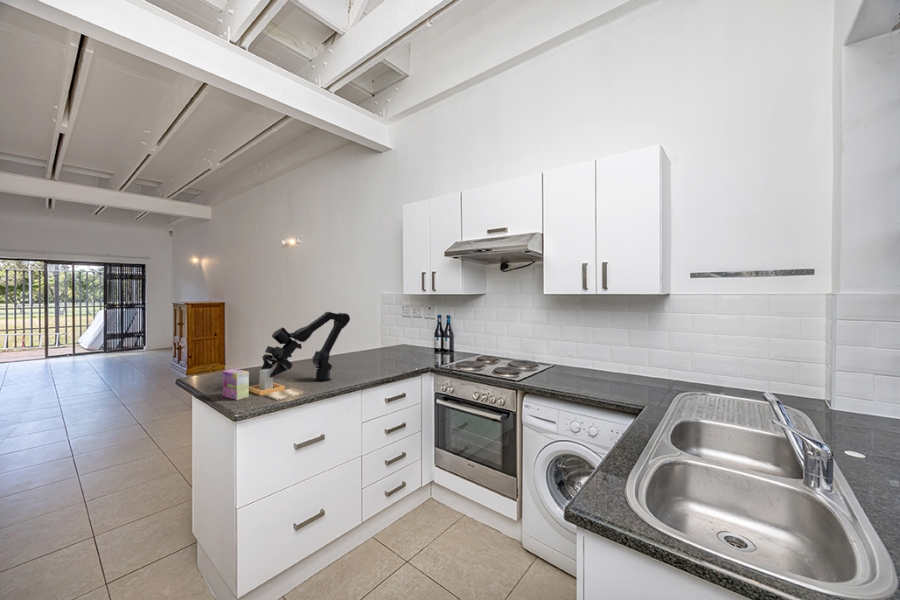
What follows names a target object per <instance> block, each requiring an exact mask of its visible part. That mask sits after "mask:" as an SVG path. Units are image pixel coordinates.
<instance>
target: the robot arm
mask: <svg viewBox="0 0 900 600" xmlns="http://www.w3.org/2000/svg"><path fill="white" fill-rule="evenodd" d="M331 320H333V327H332V329H331V330H330V333H329V334H328V336H327V338H326V339H325V342H324V344H323V346H322V347H321V349H320V350H319V351H318V350H316V351H315V352H314V355H313V356H312V357H311V358H312V363H313V365H314V366H315V368H316V372H315V379H314V381H317V382H321V383H323V381H324V382H327V381H331V380H332V378H331V373H330V372H331V370H332V367H333V365H332V364H331V363H330V362H329V360H330V352H331V351H332V349H333V347H334V345H335V343H336V341H337V339H338V338H339V335H340V334H341V331H342V330H343V329H344V328H346V326H347V325H348V324H349V322H350V320H351V317H350V314H348V313H347V312H346V313H345V312H338V313H335V312H332V311H325V312H324V313H323V314H322V315H320V316H319V317H318V318H316V319H314V321H312V322H311V323H309V324H308V325H306V326H303V327H301V328H298V329H296V330H295V331H294V332H291V333H290V332H288V331H287V329H285V328H284V327H281V328H279V329H277V330H276V331H274V332H273V333H272V334H271V337H272V339H274V340H275V341H276V342H277V343H278V344H279V345H283V346H281V347H280V346H275V347H273V346H269V345H268V346H267V347H266V348H265V351H264V353H265V354H264V355H263V356H262V357H261V359H262V361H263V364H262V366H261V369H260V370H263V369H272V368H273V367H274V366H275V365H276V366H275V368H274V369H272V370H273V372H272V373H271V374H270V376H269V377H270V378H272V377H273V378H274V377H275V376H278V375H279V374H281V373H283V372H286V371H288V370H289V371H290V370H291V369H292V368H293V363H292V362H291V361H290V360H288V359H289V358H292V356H293V355H292V354H293V353H294V352H295V351H296V350H298V349H299V350H301V349H303V348H302V343H305V342H306V341H307V340H308V339H309V338H310V337H311V336H312V335H313V333H314V332H316V331H317V330H318V329H320V328H321V327H322V326H324V325H326V323H328V322H330V321H331ZM293 339H294V340H293ZM299 342H300V343H299ZM258 373H259V375H260V372H258Z"/></svg>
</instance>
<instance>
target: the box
mask: <svg viewBox="0 0 900 600" xmlns="http://www.w3.org/2000/svg"><path fill="white" fill-rule="evenodd" d="M249 380H250V372H249V371H246V370H243V369H242V370H241V369H238V368H237V369H236V368H232V369H227V370H223V371H222V396H225V397H224V398H227V397H228V399H232V400H235V401H238V400H239V401H240V400H242V399H247V398H249V394H250V392H249V386H250V385H249V383H250V382H249Z"/></svg>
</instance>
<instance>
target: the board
mask: <svg viewBox="0 0 900 600" xmlns="http://www.w3.org/2000/svg"><path fill="white" fill-rule="evenodd" d="M303 393H306V392H305V391H304V390H300V389H297V388H293V387H291V388H288V389H286V388H285V390H282V391H277V392H273V393H268V394H265V395H264V397H266V396H267V397H266V398H269V397H270V399H271V398H272V399H271V400H275V401H279V399H280V400H284V399H288V398H292V397H295V395H297V396H300V395H299V394H301V395H303ZM283 398H284V399H283Z"/></svg>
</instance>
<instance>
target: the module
mask: <svg viewBox="0 0 900 600" xmlns="http://www.w3.org/2000/svg"><path fill="white" fill-rule="evenodd" d="M273 370H274V369H272V368H270V369H263V370H261V369H259V373H260V374H259V380H258V381H259V383H258V385H259V390H266V389H271V388H273V383H274V377H272V378H270V377H269V376H270V374H271V373H272V372H273Z"/></svg>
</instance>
